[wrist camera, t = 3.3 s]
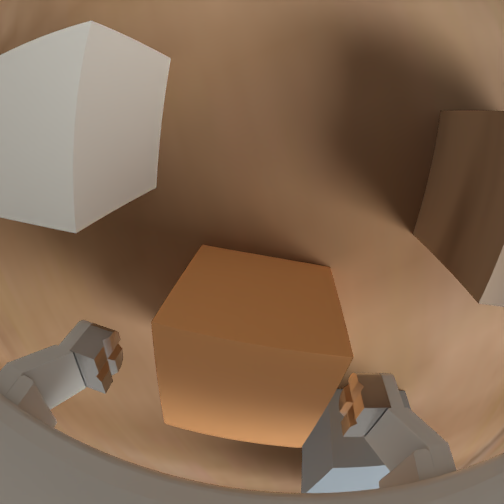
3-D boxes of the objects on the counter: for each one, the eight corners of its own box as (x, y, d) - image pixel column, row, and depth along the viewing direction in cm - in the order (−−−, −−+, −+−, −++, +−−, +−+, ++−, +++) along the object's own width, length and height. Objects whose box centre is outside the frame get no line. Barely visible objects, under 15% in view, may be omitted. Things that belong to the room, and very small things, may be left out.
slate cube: (404, 389, 14) (424, 459, 9) (370, 433, 16) (378, 492, 11) (326, 386, 14) (332, 467, 9) (302, 431, 16) (301, 497, 11)
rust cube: (329, 266, 11) (353, 357, 6) (300, 357, 13) (301, 447, 8) (202, 243, 11) (151, 321, 7) (197, 339, 13) (164, 423, 9)
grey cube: (171, 58, 8) (91, 20, 4) (157, 187, 10) (76, 233, 6) (70, 70, 8) (-18, 64, 4) (62, 178, 11) (-21, 212, 6)
